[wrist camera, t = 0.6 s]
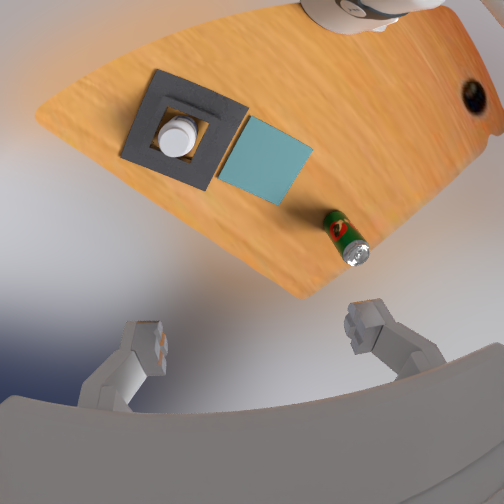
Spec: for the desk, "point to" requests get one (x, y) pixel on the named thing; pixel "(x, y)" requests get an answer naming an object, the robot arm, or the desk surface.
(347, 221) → the soda can
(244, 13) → the desk surface
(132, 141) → the square frame
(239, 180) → the mat
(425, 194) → the desk surface
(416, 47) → the desk surface
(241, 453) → the robot arm
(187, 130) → the pill bottle
